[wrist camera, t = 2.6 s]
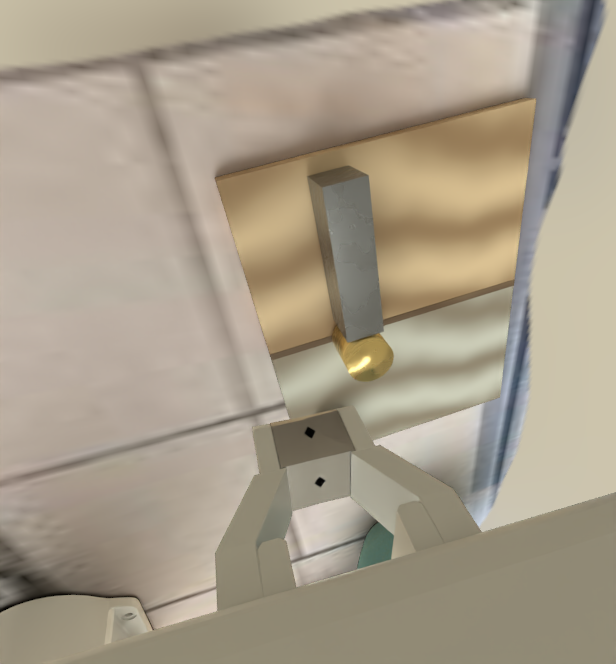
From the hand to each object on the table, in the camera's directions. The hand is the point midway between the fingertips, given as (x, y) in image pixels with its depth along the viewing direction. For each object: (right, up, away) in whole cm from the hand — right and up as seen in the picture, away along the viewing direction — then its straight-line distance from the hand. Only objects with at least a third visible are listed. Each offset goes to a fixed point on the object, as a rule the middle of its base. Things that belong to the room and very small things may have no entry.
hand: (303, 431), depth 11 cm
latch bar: (+3, +7, +18) cm, 19 cm away
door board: (+7, +5, +22) cm, 24 cm away
